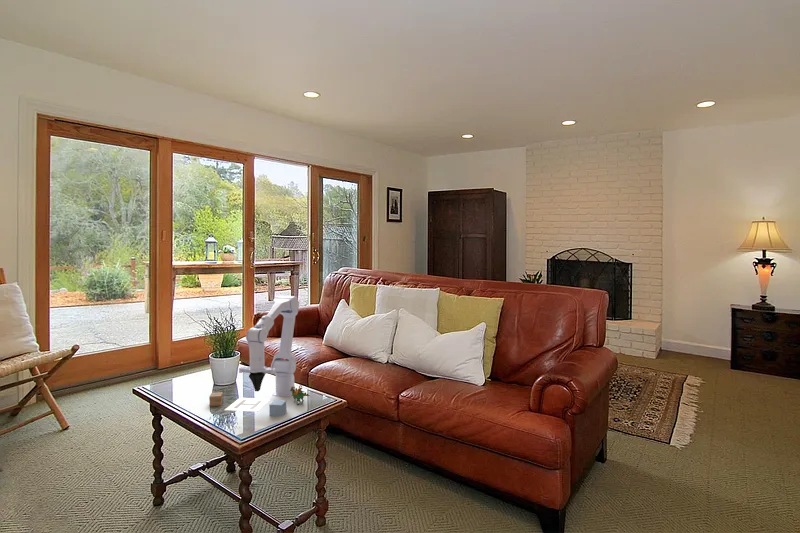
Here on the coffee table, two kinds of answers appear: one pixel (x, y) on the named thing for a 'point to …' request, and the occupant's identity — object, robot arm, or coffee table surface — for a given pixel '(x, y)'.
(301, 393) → the figurine
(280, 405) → the blue cube
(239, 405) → the letter mat
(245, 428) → the coffee table surface
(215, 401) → the walnut block
